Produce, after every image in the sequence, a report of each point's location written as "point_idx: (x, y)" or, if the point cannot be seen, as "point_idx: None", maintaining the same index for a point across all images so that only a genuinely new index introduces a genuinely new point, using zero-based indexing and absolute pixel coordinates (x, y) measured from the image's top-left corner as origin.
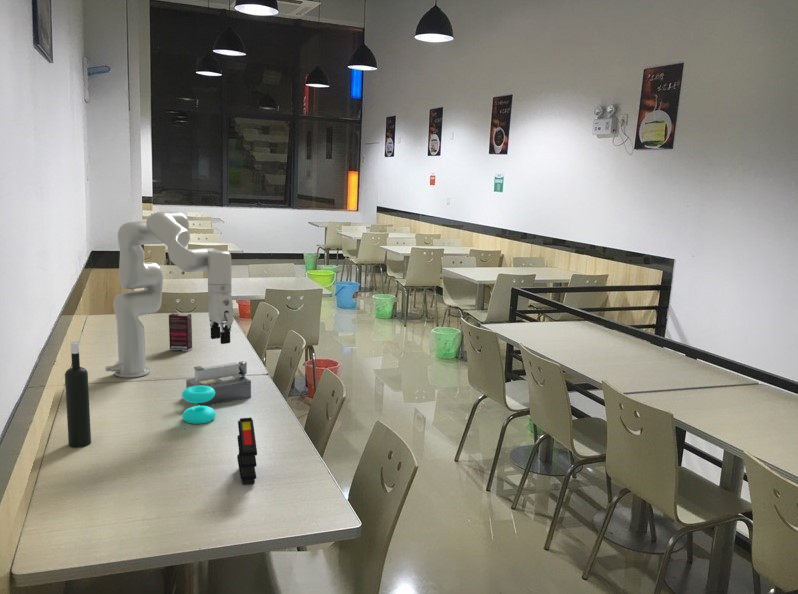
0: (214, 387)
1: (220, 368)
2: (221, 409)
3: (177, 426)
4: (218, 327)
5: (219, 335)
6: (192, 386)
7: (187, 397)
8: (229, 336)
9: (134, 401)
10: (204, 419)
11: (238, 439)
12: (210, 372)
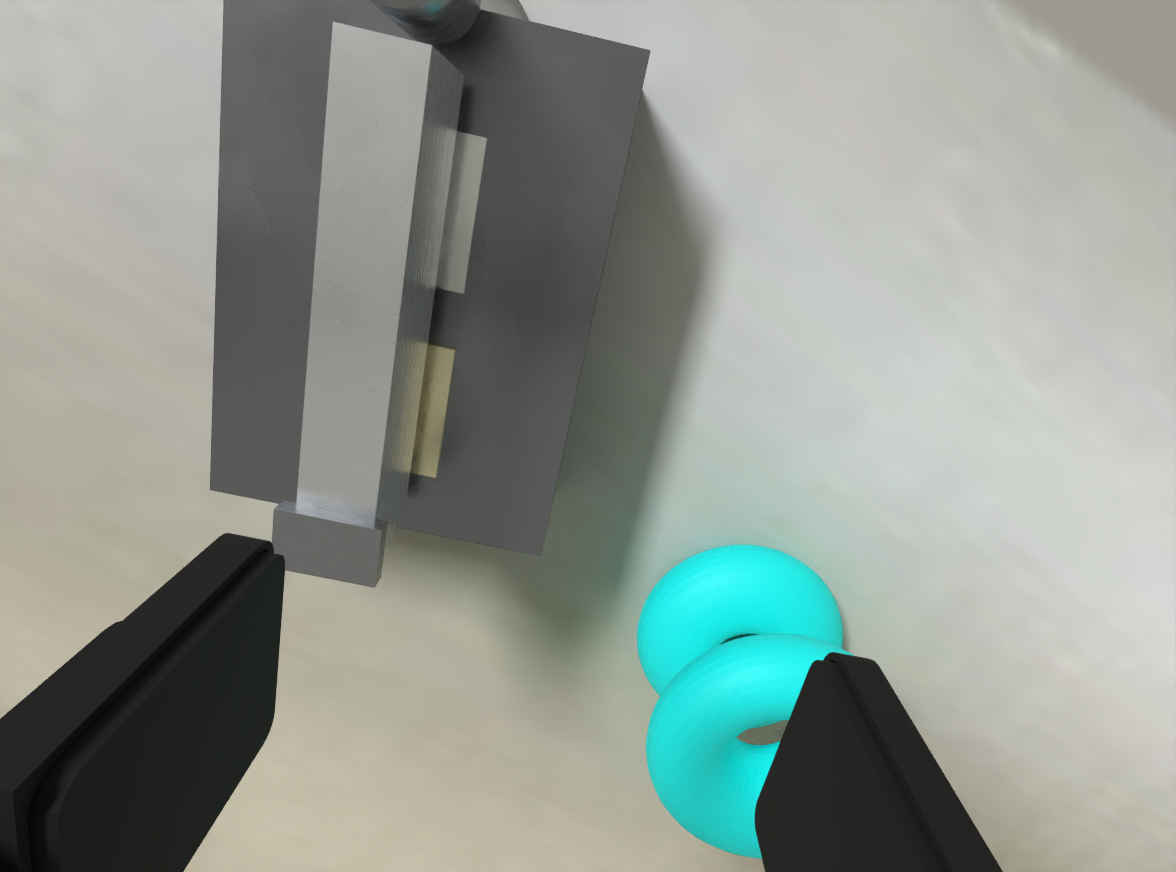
0: (564, 446)
1: (405, 317)
2: (692, 431)
3: None
4: (66, 845)
5: (251, 602)
6: (686, 774)
7: None
8: (938, 803)
9: None
10: None
11: None
12: (399, 427)
